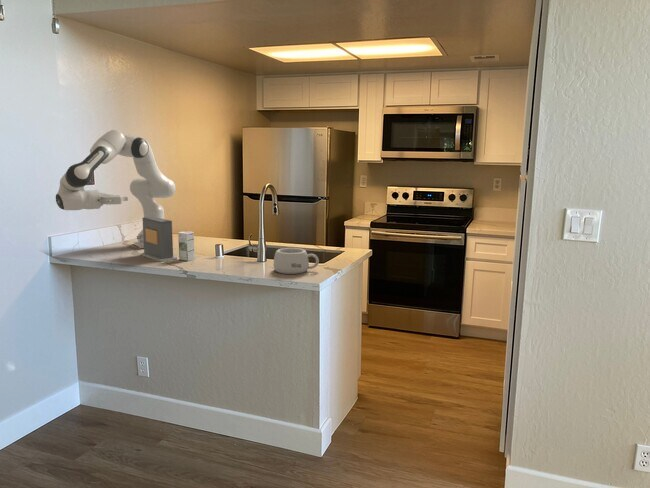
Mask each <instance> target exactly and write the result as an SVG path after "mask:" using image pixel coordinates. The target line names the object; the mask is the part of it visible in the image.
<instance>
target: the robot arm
mask: <svg viewBox="0 0 650 488" xmlns="http://www.w3.org/2000/svg"><path fill="white" fill-rule="evenodd" d="M118 155H120V156H123V157H126V158H132V160H133V163H134V166H135V167H134V168H135V170H136V172H137V174H138V175H139V176H140V177H141V178H136V179H135V178H134V179H132V181H131V183H129V191H130V193H131V194H132V196H133V197H135V198H136V199H137V200H138V201H139V203H140V204H141V207H142V212H143V218H145V217H157V218H161V219H165V210H164V207H163V206H162V205H161V204H159V203H157V201H156V200H155V199H165V198H170V197H173V196H174V195H175V193H176V190H177V189H176V184H175V181H173V180H172V179H170V178H168V177H167V176H166V175H165V174H163V172H162V171H161V170H160V169H159V167H158V164H157V162H156V158H155V154H154V152H153V149H152V146H151V144H150V143H149V141H147V139H144V138H142V137H139V136H135V135H132V134H131V135H130V134H123V133H122V132H121V131H120V130H117V129H111V130H109V131H107V132H106V133H104V134H103V135H102V136H100V137H99V138H98V139H97V140H96V141H95V142H94V143H93V144H92V146H91V148H90V149H89V155H87V157H85V159H83V160H82V161H81V162H79V163H74V164H72V165H70V166H69V167H68V168H67V170H66V171H65V173H64V174H63V175H62V177H61V178H60V180H59V187H58V190H57V193H56V194H55V203H56V205H57V206H58V208H59V209H60V210H64V211H80V210H99V209H100V208H101V207H102V206H104V205H110V206H111V205H121V204H122V203H123V202H128V200H129V197H128V196H120V195H115V194H109V193H105V192H104V193H103V192H101V191H99V190H98V189H91V190H86V189H85V186H87V185H88V184H89V183H90V181H91V180H92V177H93V173H94V171H96V169H97V168H98V167H99V166H100V165H102V164H103V165H106V164H109V162H111V161H113V160H114V159H115V158H116V157H117V156H118ZM136 239H137V241H135V242H133V245H135V246H136V247H138V248H139V249H144V239H143V228H141V231H140V232H139V233H138V234H137V235H136Z"/></svg>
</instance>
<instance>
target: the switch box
mask: <svg viewBox="0 0 650 488" xmlns="http://www.w3.org/2000/svg"><path fill="white" fill-rule="evenodd" d="M145 228H150V229H154V230H158V245H157V244H153V243H150V242H146V231H145ZM142 229H143V239H144V248H143V252H141V253H140V256H143V257H146V258H149V259H151V260H154V261H157V262H160V263H163V262H169V261H175V260H177V259H178V257H177V256H175V255H174V246H173V245H174V243H173V242H174V240H173V239H174V238H173V221H172V220H169V219H165V218H164V219H161V218H157V217H145V218H144V217H142Z"/></svg>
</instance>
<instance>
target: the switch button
mask: <svg viewBox="0 0 650 488" xmlns="http://www.w3.org/2000/svg"><path fill="white" fill-rule="evenodd" d="M145 231H146V242H150V243H153V244H157V245H158V230H154V229H150V228H145Z"/></svg>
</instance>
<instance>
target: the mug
mask: <svg viewBox="0 0 650 488" xmlns="http://www.w3.org/2000/svg"><path fill="white" fill-rule="evenodd" d="M310 257H313V258H314V259H315V263H314V264H312V265H310V263H309V261H310V260H309V258H310ZM319 262H320V259H319V257H318V256H317V254H314V253H308V252H307V251H306V249H303V248H299V247H286V248H285V247H282V248H279V249H277V250H276V251H275V253H274V257H273V269H274V271H275V272H276V273H279V274H283V275H297V274H304V273H306V272H307V271H308V270H311V269H314V268H316V267H318V266H319V264H320V263H319Z"/></svg>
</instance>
